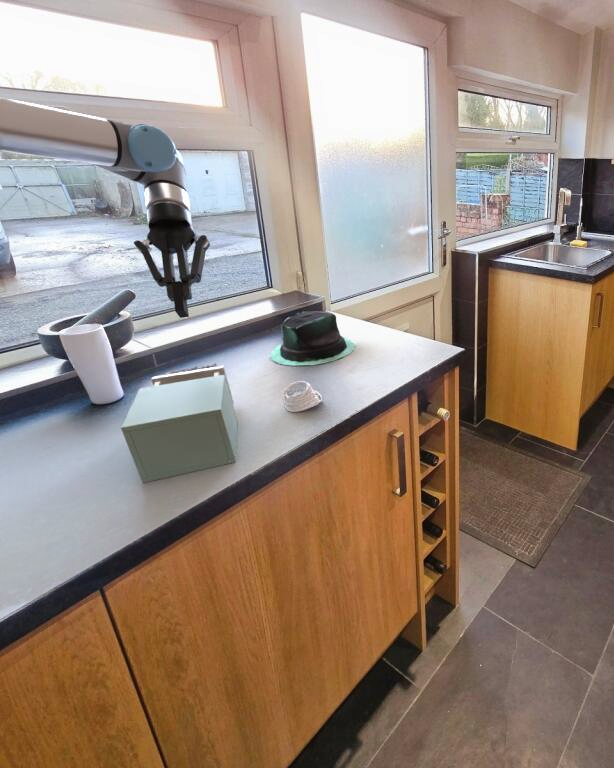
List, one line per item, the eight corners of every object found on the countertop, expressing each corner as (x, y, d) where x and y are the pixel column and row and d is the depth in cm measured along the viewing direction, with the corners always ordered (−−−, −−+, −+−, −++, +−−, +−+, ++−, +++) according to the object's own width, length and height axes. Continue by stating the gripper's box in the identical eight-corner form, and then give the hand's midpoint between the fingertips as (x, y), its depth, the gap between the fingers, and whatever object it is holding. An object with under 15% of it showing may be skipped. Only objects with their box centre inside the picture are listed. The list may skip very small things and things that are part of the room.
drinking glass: (125, 389, 104) (100, 321, 98) (132, 399, 100) (105, 328, 94) (85, 399, 100) (55, 329, 94) (90, 410, 96) (59, 337, 89)
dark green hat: (324, 366, 112) (248, 362, 116) (365, 374, 130) (298, 370, 134) (330, 301, 113) (254, 299, 117) (370, 318, 131) (303, 316, 135)
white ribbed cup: (330, 406, 99) (329, 383, 97) (303, 418, 93) (301, 394, 91) (302, 395, 102) (300, 373, 100) (274, 406, 96) (271, 383, 94)
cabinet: (157, 437, 86) (139, 388, 82) (237, 421, 91) (224, 374, 87) (142, 483, 74) (120, 427, 70) (236, 462, 79) (220, 409, 75)
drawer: (168, 405, 96) (155, 368, 92) (234, 393, 100) (224, 357, 97) (154, 450, 81) (138, 408, 78) (231, 434, 86) (220, 393, 82)
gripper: (210, 221, 107) (225, 318, 101) (139, 226, 103) (150, 327, 97) (199, 198, 101) (214, 300, 94) (123, 202, 96) (134, 309, 90)
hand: (182, 314), depth 96 cm, fingers closed
